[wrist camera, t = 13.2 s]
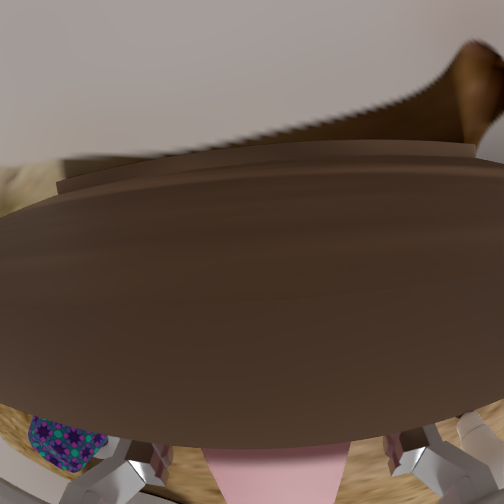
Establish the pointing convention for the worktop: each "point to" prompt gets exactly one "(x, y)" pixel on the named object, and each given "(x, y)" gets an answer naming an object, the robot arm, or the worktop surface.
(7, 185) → the worktop surface
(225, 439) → the shelf stand
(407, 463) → the robot arm
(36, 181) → the worktop surface
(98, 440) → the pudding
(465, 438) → the lightbulb
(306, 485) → the book
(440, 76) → the worktop surface
